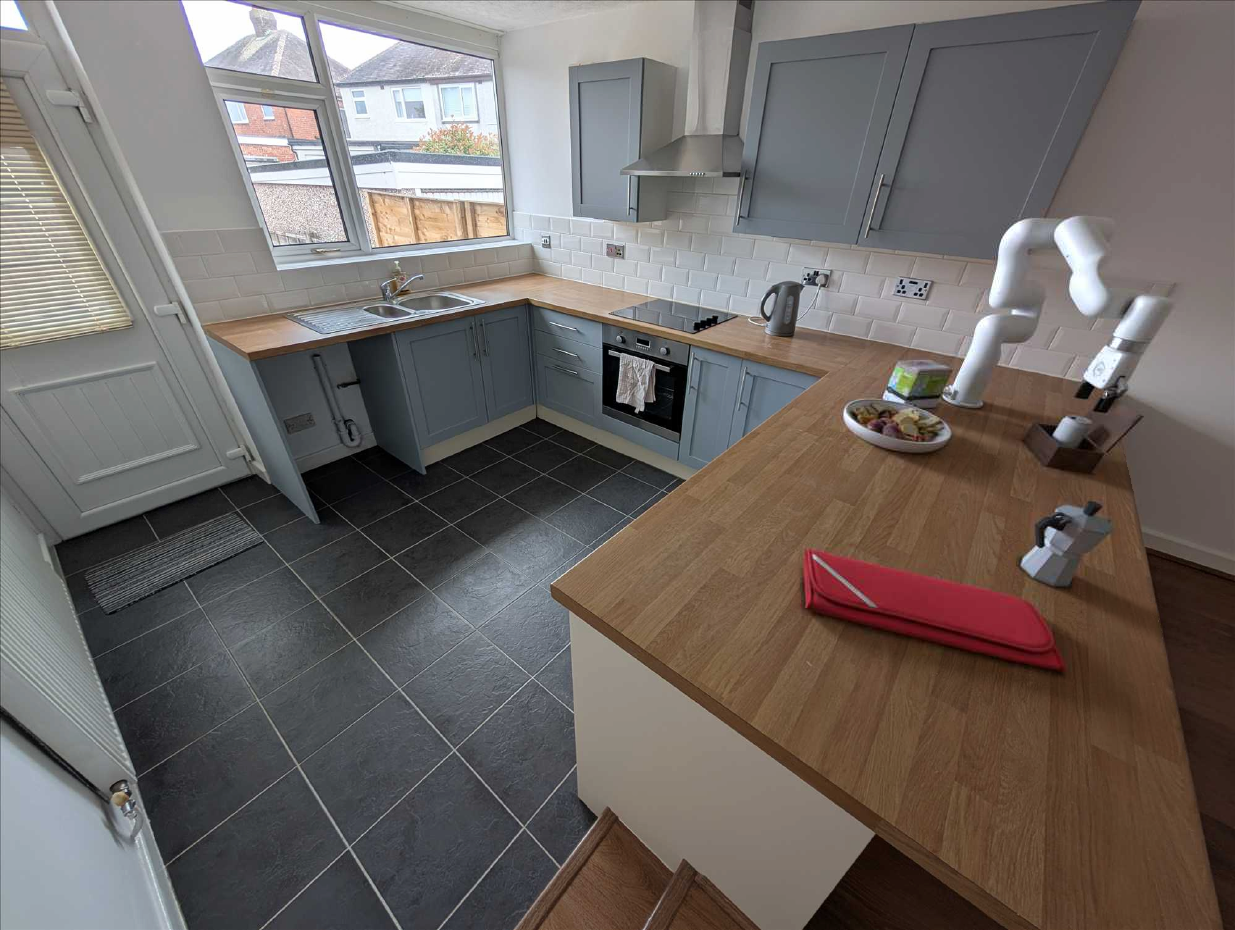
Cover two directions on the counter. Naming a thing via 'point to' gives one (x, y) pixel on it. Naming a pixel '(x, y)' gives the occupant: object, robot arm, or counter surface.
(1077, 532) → the coffee maker
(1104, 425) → the chest lid
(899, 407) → the bowl
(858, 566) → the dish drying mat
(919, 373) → the tea box
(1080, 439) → the beverage can
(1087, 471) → the chest
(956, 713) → the counter surface
